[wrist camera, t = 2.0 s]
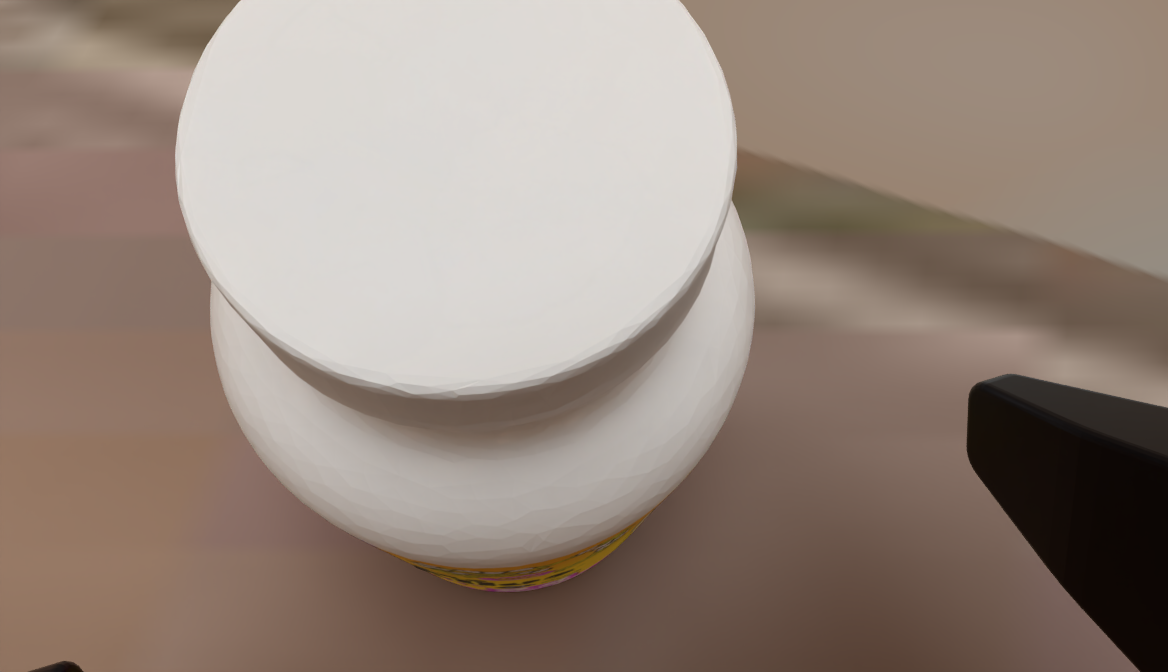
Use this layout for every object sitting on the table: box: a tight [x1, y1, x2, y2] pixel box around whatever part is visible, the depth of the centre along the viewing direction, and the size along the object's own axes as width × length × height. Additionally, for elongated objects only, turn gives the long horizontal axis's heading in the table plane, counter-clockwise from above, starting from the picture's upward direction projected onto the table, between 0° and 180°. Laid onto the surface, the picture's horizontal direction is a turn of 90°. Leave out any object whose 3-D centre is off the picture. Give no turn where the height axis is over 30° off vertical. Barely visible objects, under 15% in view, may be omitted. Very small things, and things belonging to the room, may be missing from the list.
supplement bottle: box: [175, 0, 755, 592], centre depth 13 cm, size 7×7×13 cm
